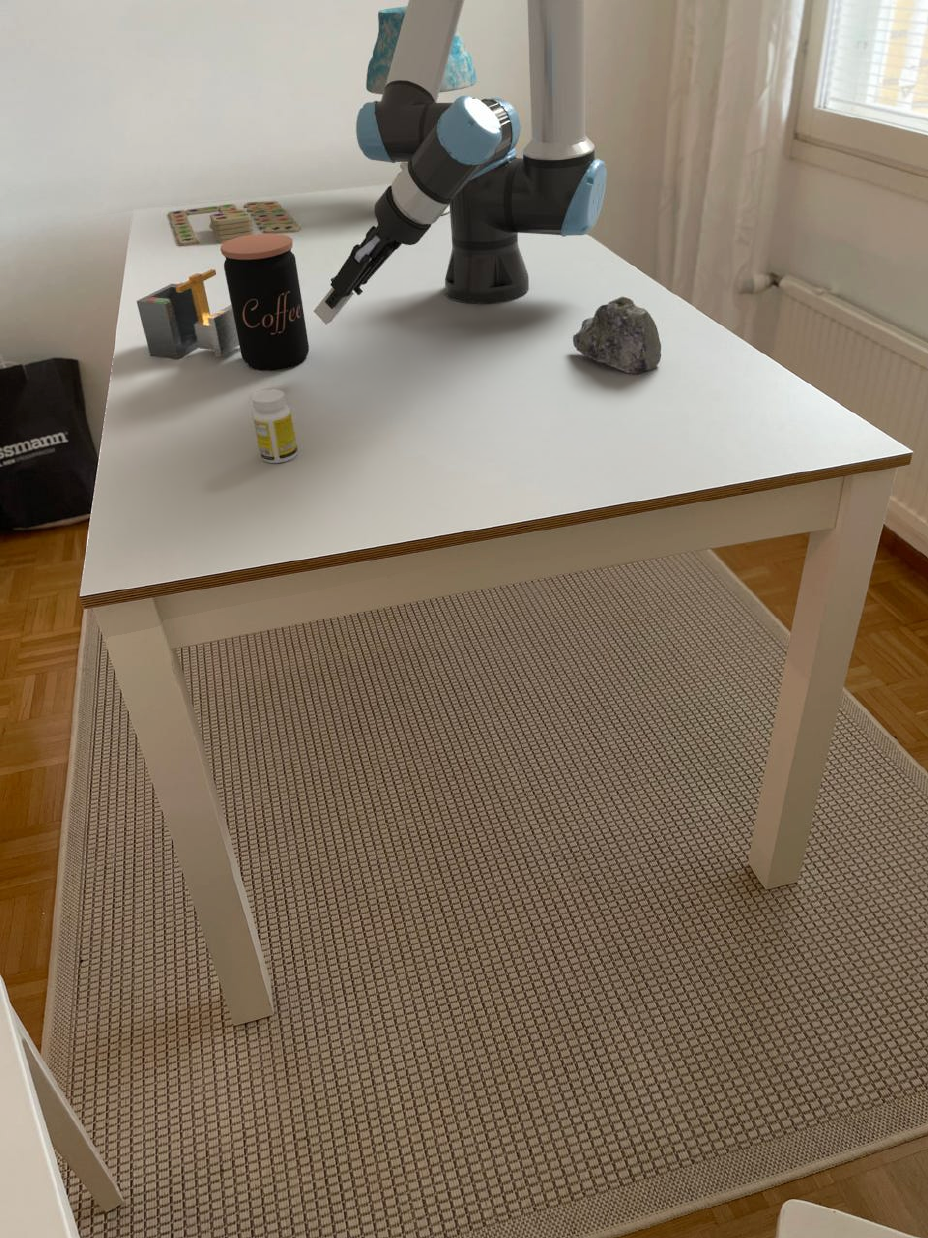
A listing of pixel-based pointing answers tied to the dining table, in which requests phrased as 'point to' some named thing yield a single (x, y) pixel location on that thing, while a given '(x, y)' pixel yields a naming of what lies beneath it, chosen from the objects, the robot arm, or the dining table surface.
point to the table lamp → (390, 24)
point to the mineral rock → (620, 337)
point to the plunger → (211, 318)
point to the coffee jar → (266, 301)
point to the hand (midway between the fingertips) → (322, 316)
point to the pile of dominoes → (234, 221)
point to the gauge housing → (169, 322)
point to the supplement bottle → (274, 426)
